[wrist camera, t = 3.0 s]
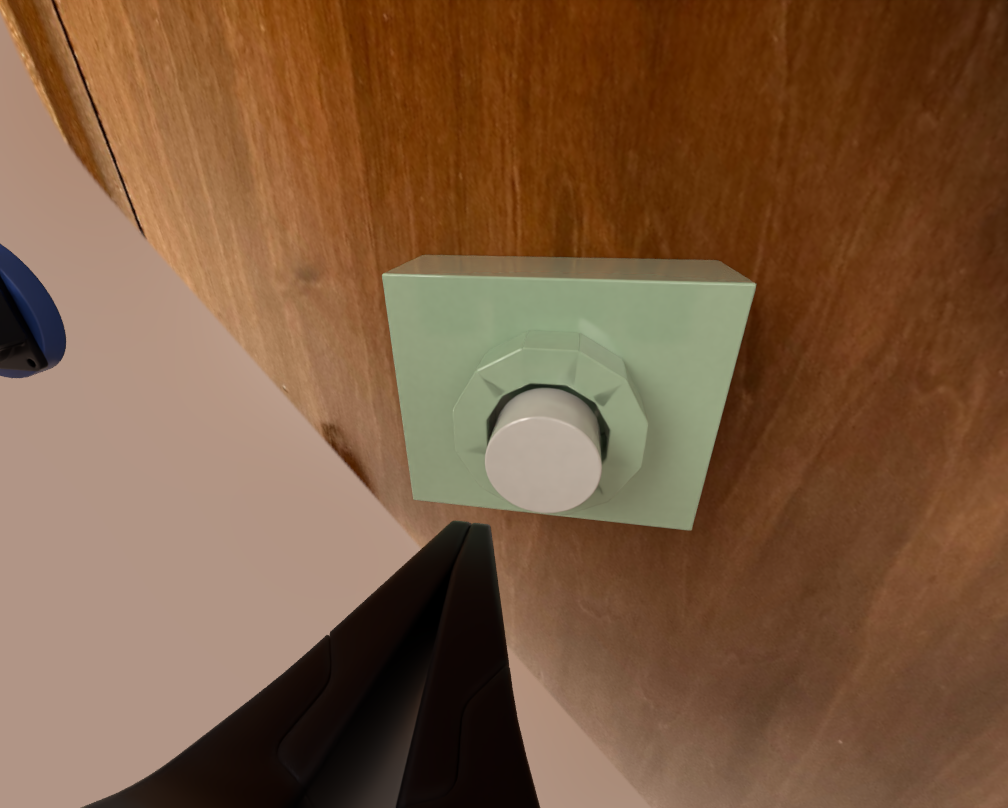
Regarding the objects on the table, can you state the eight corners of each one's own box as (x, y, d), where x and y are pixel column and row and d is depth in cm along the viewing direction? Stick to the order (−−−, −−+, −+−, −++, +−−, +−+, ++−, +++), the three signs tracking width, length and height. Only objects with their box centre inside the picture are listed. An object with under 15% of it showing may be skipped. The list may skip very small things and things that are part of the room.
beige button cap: (497, 470, 16) (485, 507, 14) (495, 383, 14) (482, 412, 12) (595, 480, 15) (596, 520, 14) (605, 390, 14) (608, 422, 12)
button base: (440, 449, 23) (397, 529, 18) (422, 254, 18) (355, 285, 13) (673, 470, 21) (702, 566, 16) (719, 259, 16) (782, 298, 11)
